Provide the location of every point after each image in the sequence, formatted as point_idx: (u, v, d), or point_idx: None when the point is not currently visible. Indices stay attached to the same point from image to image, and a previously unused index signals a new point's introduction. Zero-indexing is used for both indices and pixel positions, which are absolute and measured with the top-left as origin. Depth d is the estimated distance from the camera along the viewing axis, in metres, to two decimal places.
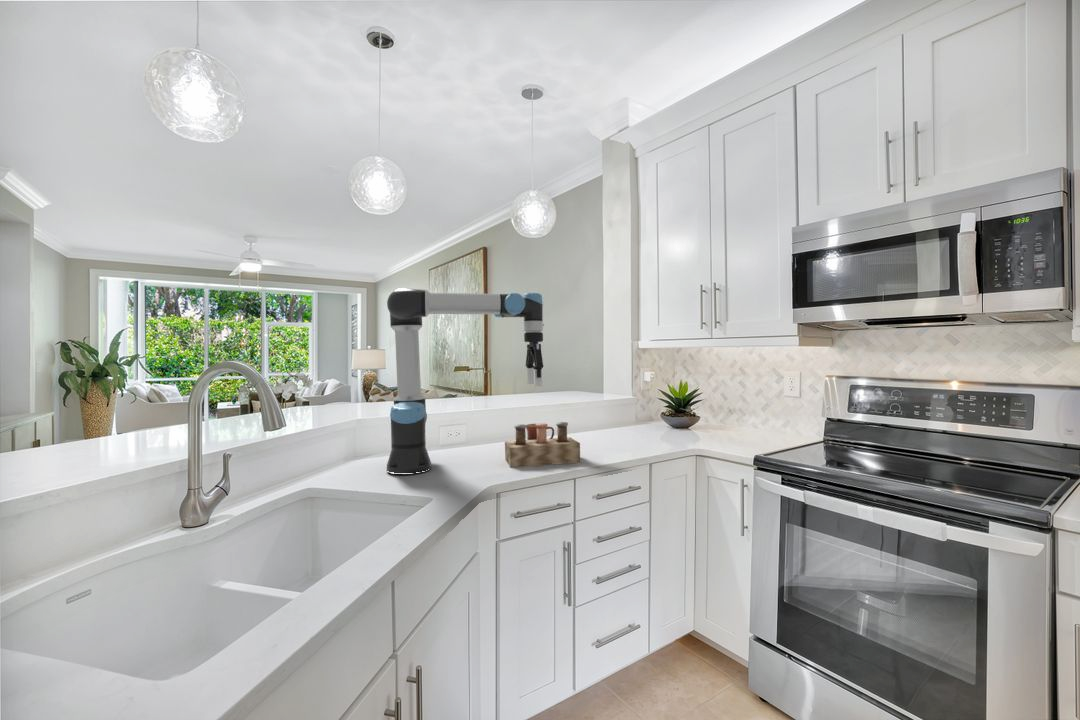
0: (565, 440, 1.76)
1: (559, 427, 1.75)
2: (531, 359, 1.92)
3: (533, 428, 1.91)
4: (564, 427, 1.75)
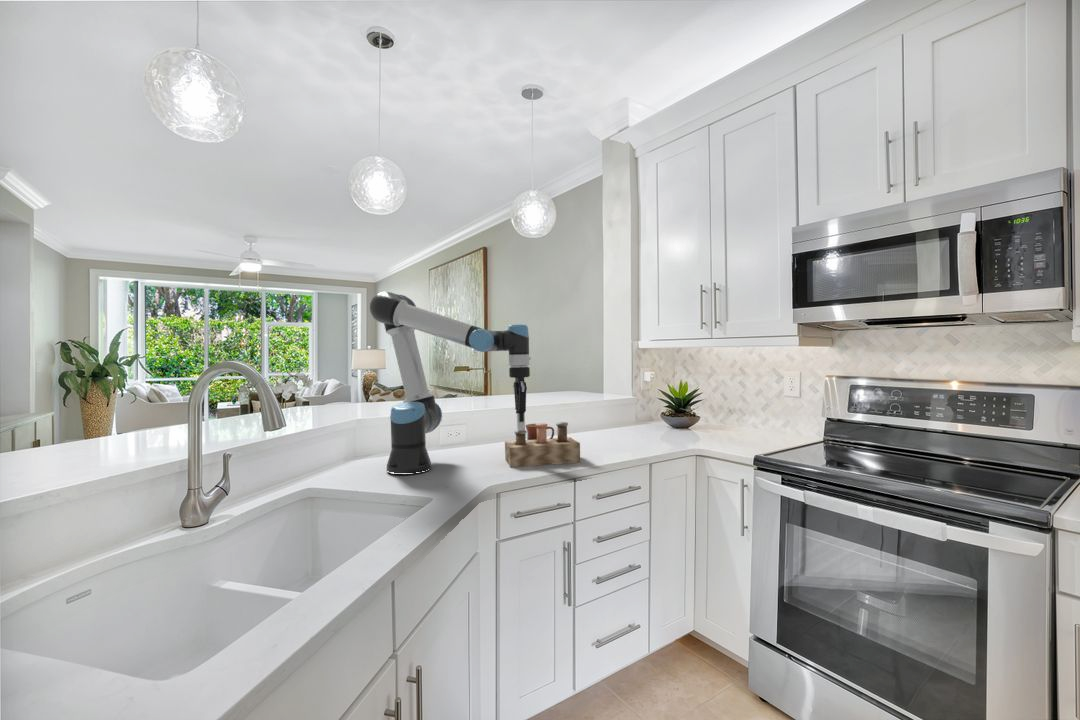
0: (565, 440, 1.76)
1: (559, 427, 1.75)
2: None
3: (533, 428, 1.91)
4: (564, 427, 1.75)
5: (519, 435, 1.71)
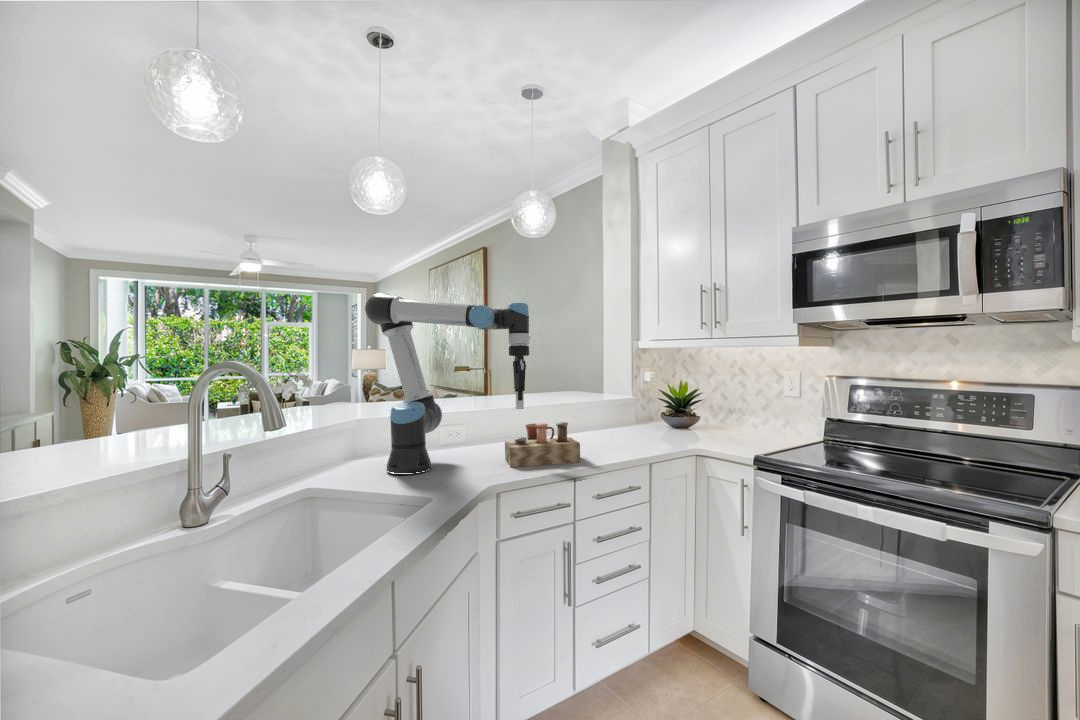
0: (565, 440, 1.76)
1: (559, 427, 1.75)
2: None
3: (533, 428, 1.91)
4: (564, 427, 1.75)
5: (519, 442, 1.71)
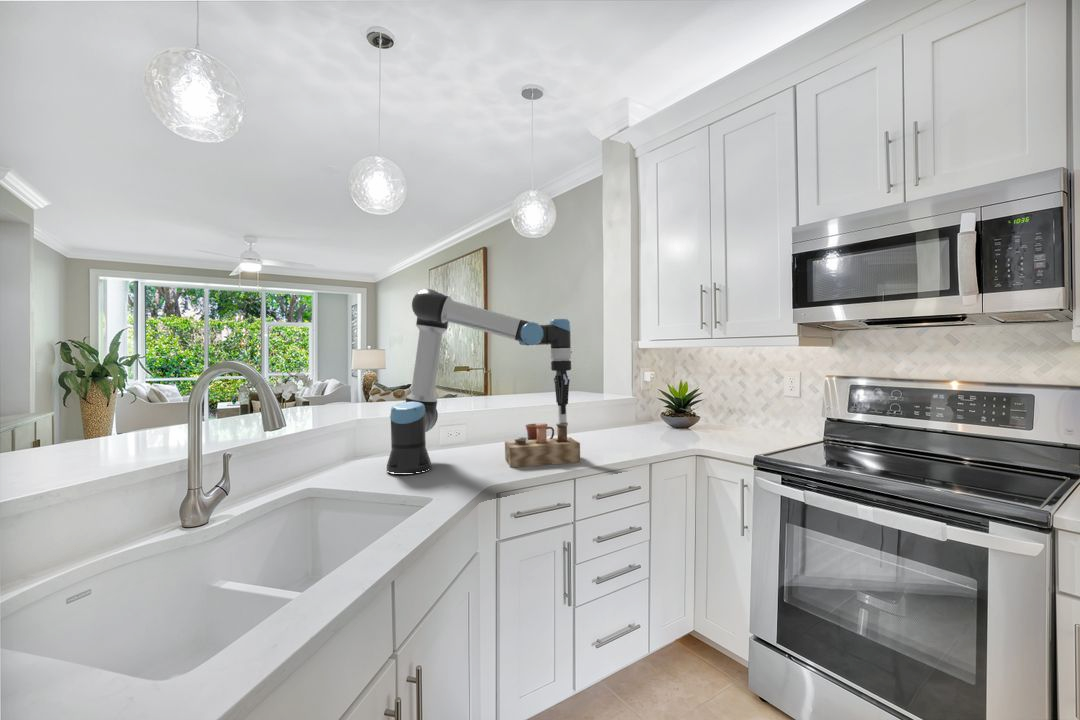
0: (565, 440, 1.76)
1: (559, 427, 1.75)
2: None
3: (533, 428, 1.91)
4: (564, 427, 1.75)
5: (519, 442, 1.71)
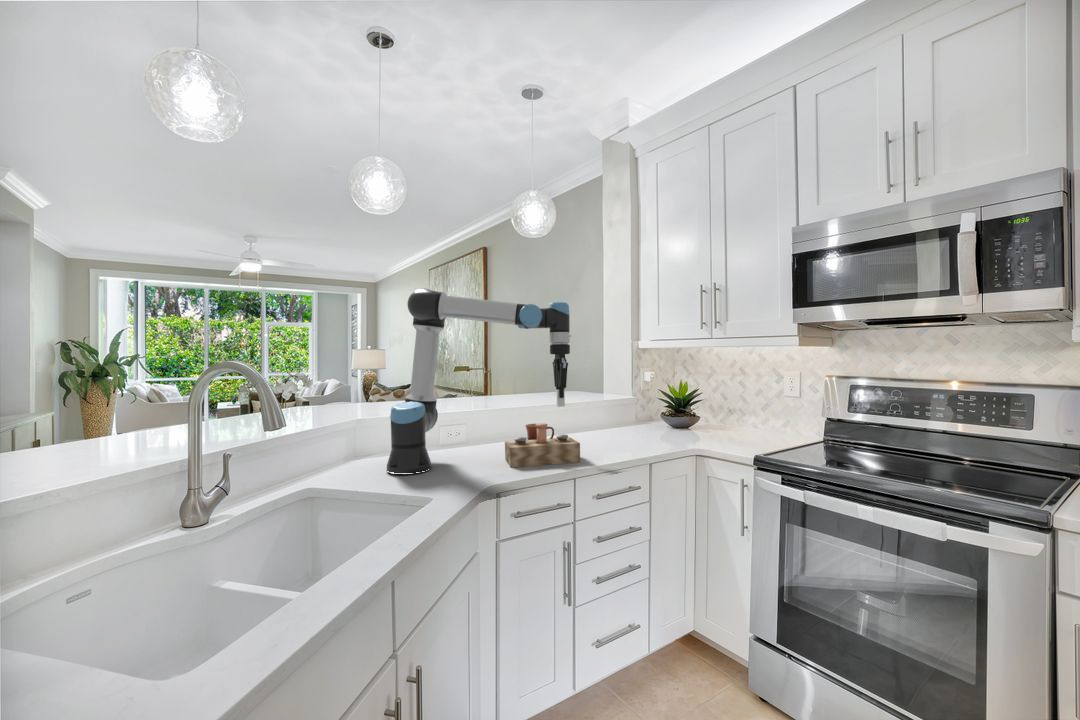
0: None
1: (559, 440, 1.75)
2: None
3: (533, 428, 1.91)
4: (564, 440, 1.75)
5: (519, 442, 1.71)
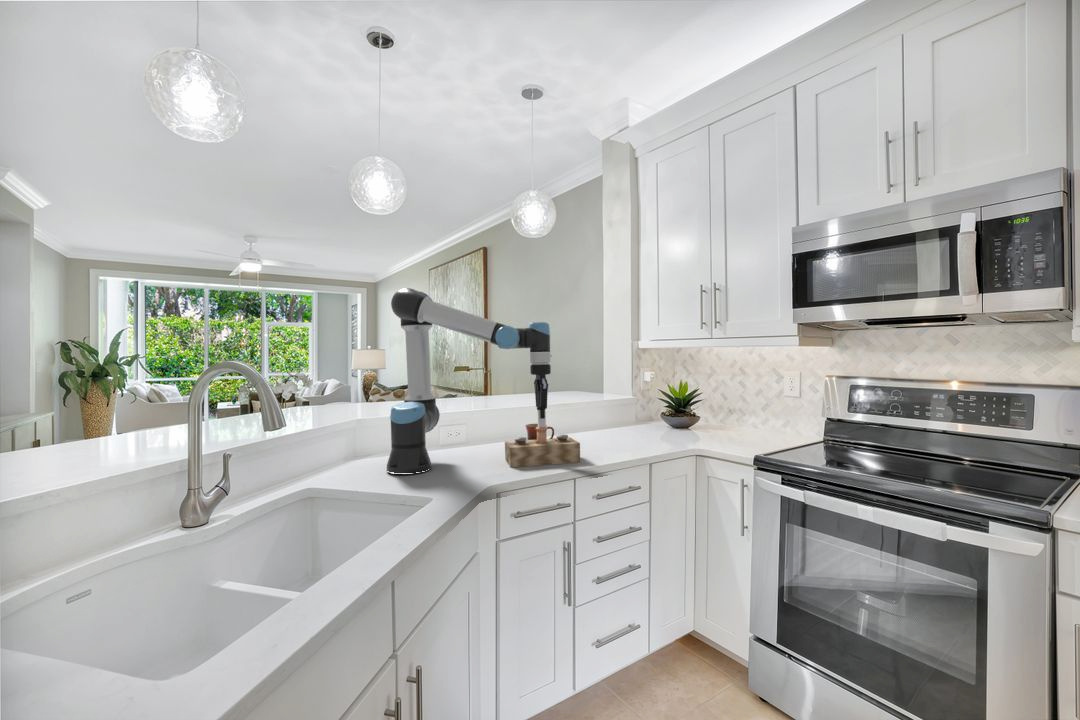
0: None
1: (559, 440, 1.75)
2: None
3: (533, 428, 1.91)
4: (564, 440, 1.75)
5: (519, 442, 1.71)
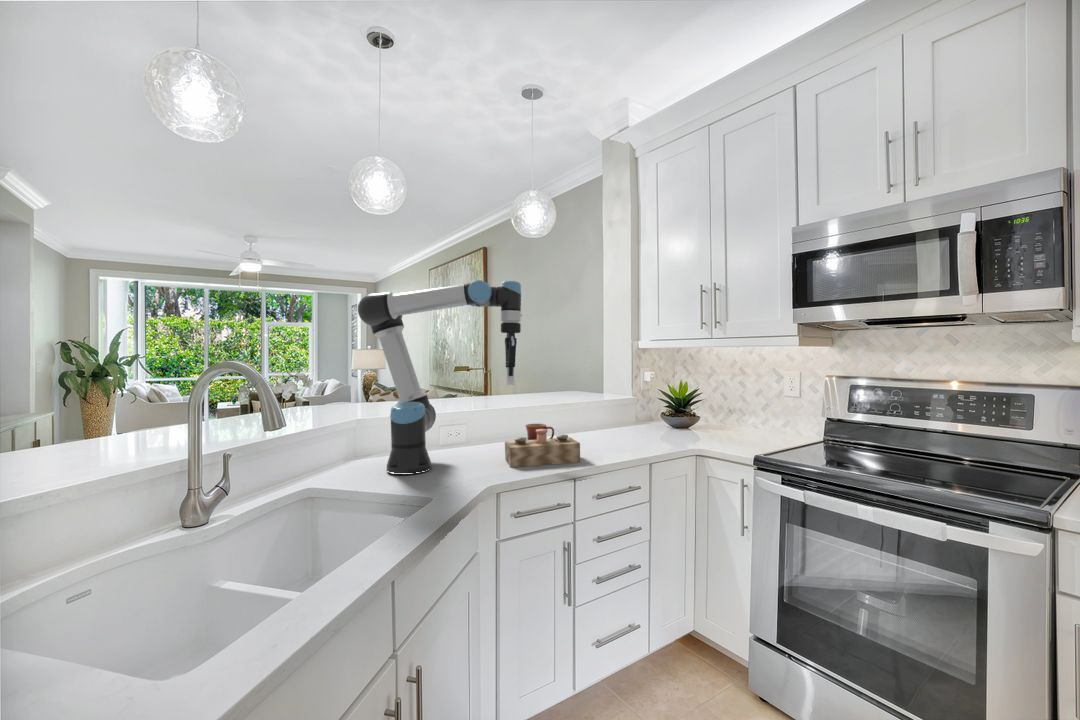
0: None
1: (559, 440, 1.75)
2: None
3: (533, 428, 1.91)
4: (564, 440, 1.75)
5: (519, 442, 1.71)
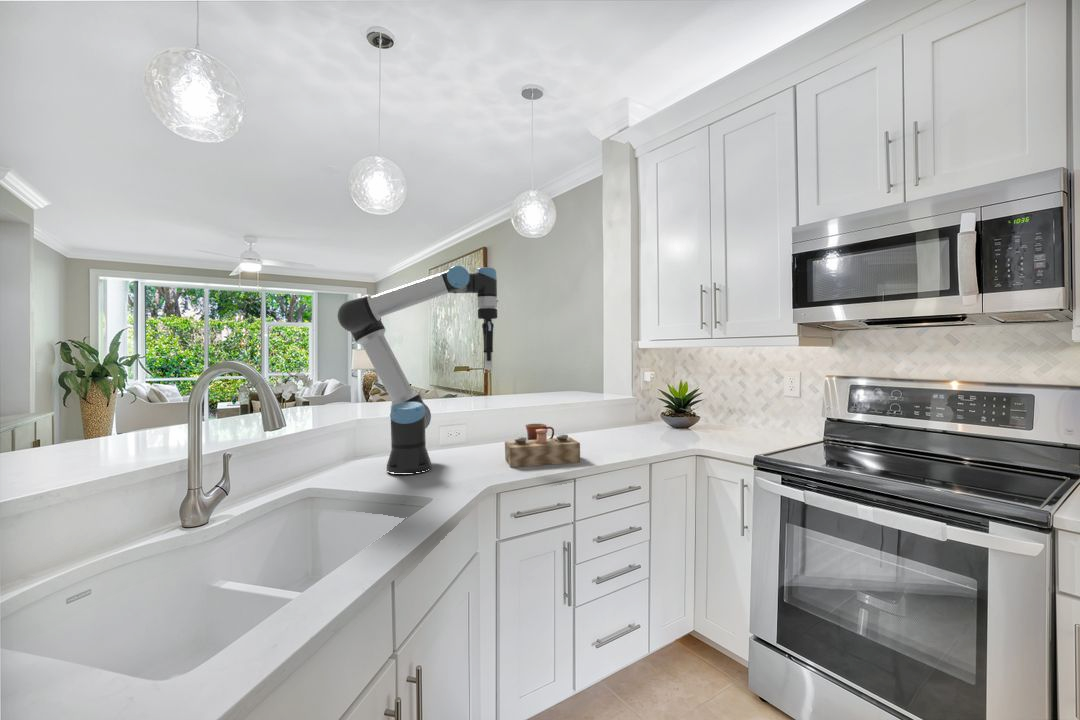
0: None
1: (559, 440, 1.75)
2: None
3: (533, 428, 1.91)
4: (564, 440, 1.75)
5: (519, 442, 1.71)
